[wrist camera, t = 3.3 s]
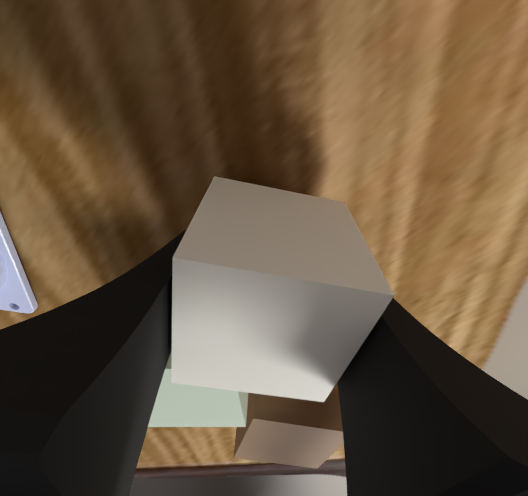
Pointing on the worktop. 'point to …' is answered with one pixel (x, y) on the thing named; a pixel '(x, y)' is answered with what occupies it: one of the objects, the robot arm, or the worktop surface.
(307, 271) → the cream cube
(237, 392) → the sage cube
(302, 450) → the walnut block
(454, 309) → the worktop surface
